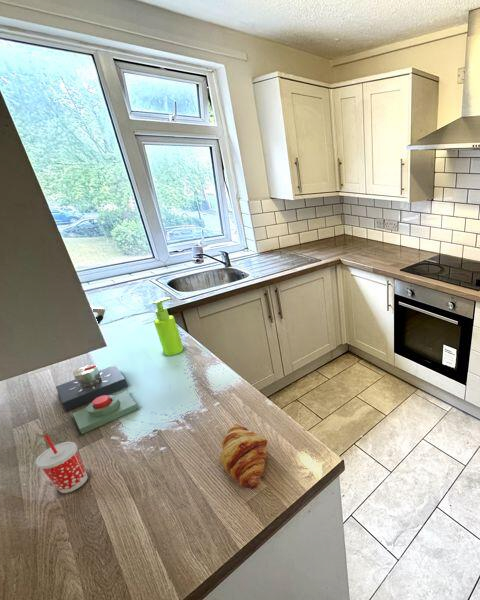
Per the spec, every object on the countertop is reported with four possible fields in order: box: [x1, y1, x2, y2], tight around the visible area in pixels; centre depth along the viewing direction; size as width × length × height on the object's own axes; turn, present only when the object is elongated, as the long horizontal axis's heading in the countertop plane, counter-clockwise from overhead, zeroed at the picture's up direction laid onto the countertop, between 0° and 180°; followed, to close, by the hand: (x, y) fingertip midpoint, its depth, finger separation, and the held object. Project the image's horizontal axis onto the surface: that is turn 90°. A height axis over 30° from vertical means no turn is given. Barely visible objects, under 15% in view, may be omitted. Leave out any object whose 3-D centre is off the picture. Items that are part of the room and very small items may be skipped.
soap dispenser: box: [152, 297, 184, 356], centre depth 116 cm, size 6×7×20 cm
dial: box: [72, 364, 102, 388], centre depth 97 cm, size 5×5×5 cm
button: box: [91, 394, 111, 409], centre depth 89 cm, size 4×4×2 cm
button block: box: [72, 390, 139, 435], centre depth 90 cm, size 12×9×4 cm
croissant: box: [218, 423, 268, 490], centre depth 76 cm, size 21×10×8 cm, turn 36°
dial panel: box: [55, 364, 129, 412], centre depth 98 cm, size 14×11×3 cm
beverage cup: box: [35, 434, 88, 494], centre depth 68 cm, size 6×6×14 cm
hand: (76, 344), depth 93 cm, fingers open, 9 cm apart
